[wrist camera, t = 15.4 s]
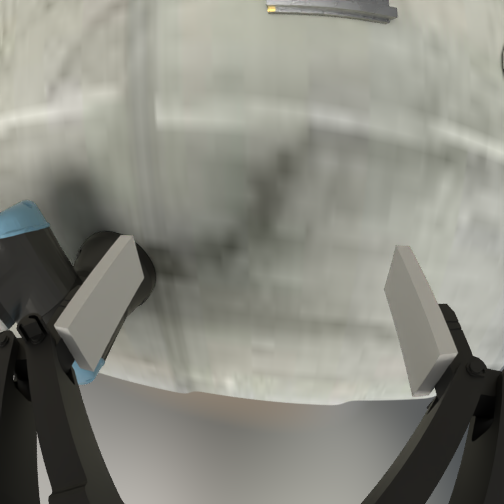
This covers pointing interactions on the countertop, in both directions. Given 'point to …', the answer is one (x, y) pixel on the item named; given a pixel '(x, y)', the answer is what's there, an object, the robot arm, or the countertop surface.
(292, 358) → the countertop surface
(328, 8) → the cradle
